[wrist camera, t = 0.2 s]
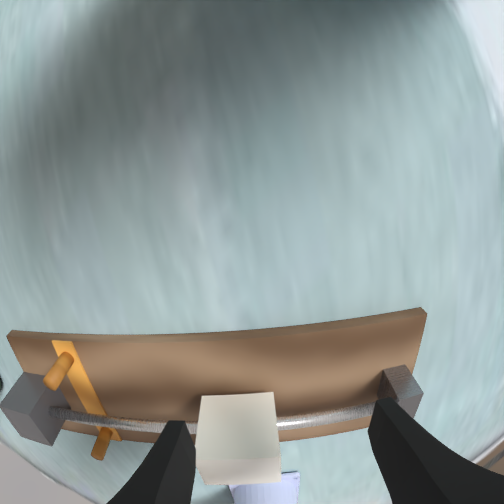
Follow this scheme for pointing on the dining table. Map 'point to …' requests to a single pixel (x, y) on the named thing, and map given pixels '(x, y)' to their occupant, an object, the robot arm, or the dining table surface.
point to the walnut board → (222, 370)
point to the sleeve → (238, 440)
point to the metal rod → (391, 385)
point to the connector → (34, 408)
